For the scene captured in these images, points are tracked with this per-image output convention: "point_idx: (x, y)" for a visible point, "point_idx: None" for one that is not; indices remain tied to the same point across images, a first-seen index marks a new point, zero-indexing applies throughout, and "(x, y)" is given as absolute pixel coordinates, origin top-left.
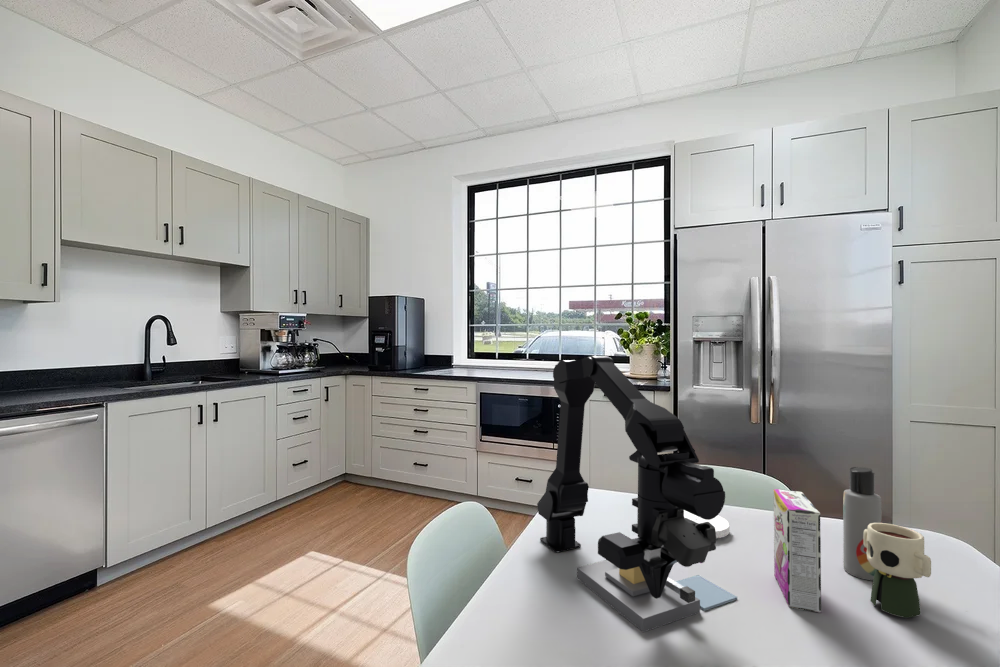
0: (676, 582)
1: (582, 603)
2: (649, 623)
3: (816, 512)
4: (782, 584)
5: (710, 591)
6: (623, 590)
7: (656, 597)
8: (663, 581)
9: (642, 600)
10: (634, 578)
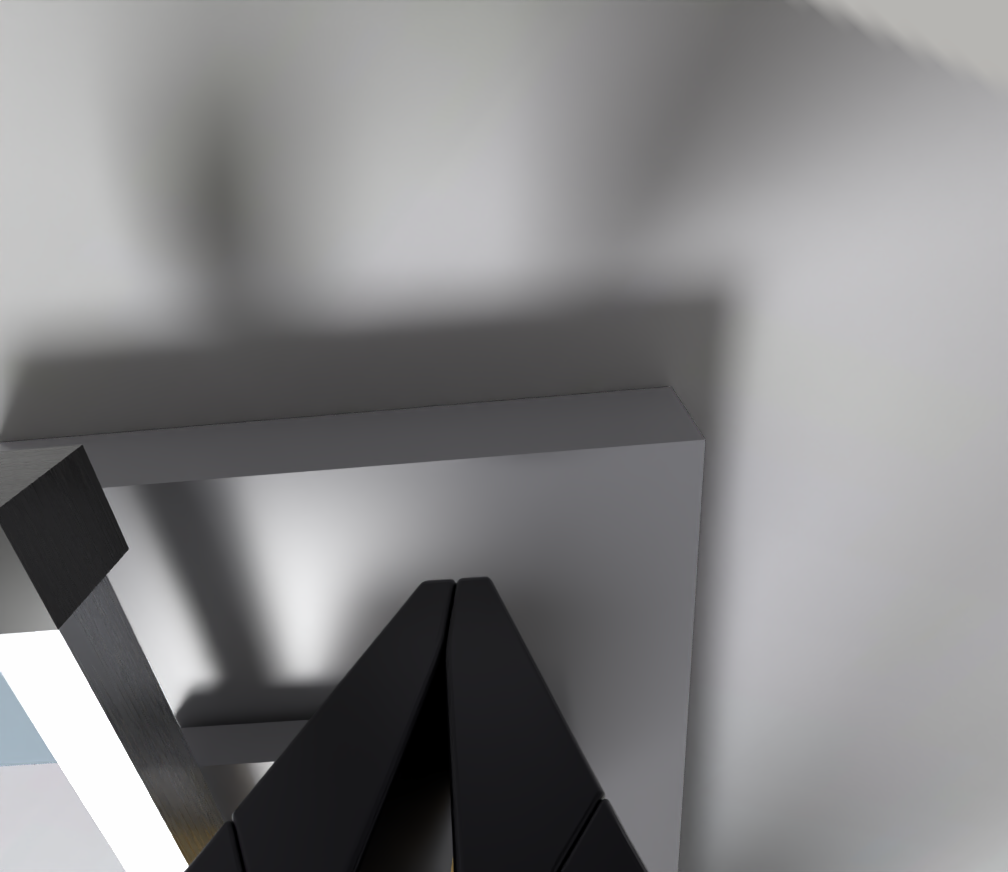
0: (40, 727)
1: (816, 753)
2: (606, 416)
3: None
4: None
5: None
6: None
7: (489, 583)
8: (359, 753)
9: None
10: (452, 868)
